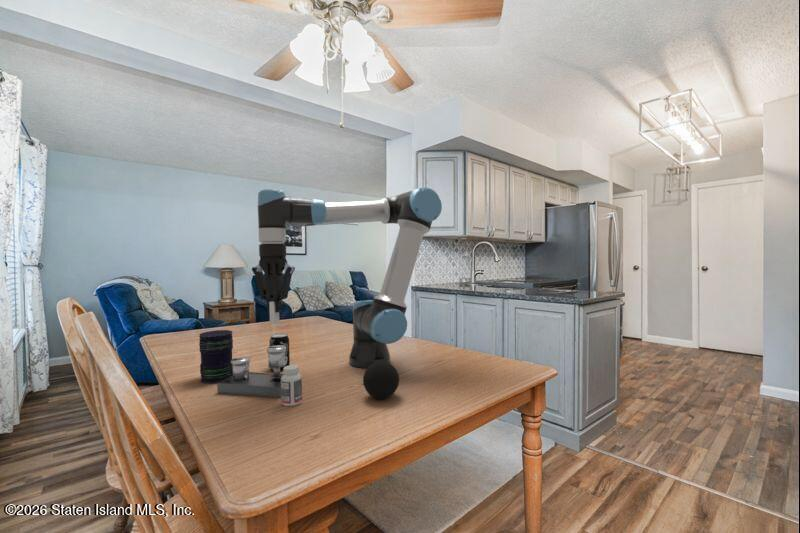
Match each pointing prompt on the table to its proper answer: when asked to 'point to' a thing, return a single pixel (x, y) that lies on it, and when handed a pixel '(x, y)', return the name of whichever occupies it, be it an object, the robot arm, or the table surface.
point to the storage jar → (216, 356)
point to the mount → (252, 385)
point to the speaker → (381, 379)
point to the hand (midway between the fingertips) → (274, 323)
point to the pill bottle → (291, 386)
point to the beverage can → (281, 340)
